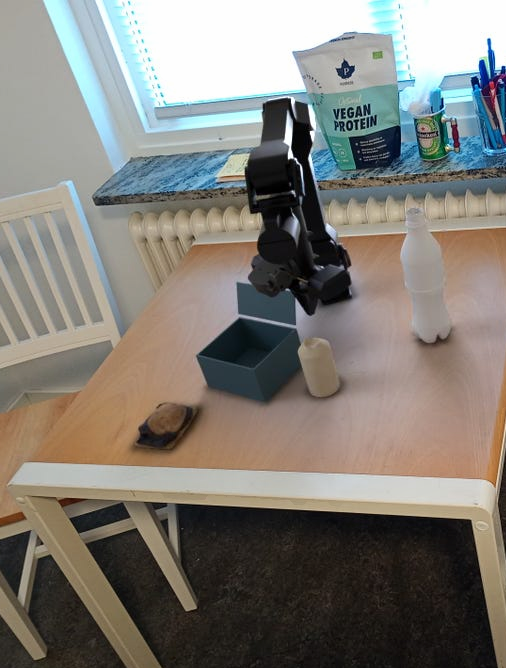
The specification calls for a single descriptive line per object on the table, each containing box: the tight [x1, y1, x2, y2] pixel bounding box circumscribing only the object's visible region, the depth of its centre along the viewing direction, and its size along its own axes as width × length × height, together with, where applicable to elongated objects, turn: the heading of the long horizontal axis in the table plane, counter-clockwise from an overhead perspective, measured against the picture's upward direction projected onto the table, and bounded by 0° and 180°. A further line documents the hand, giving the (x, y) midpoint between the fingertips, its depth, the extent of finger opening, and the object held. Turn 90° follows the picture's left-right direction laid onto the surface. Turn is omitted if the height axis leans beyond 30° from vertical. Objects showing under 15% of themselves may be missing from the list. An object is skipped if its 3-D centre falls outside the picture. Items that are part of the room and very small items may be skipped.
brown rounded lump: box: [134, 402, 199, 451], centre depth 125 cm, size 11×8×4 cm
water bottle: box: [400, 206, 452, 344], centre depth 126 cm, size 7×7×25 cm
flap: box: [235, 281, 297, 326], centre depth 132 cm, size 6×14×1 cm
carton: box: [195, 316, 302, 404], centre depth 132 cm, size 13×14×7 cm
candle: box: [298, 337, 341, 398], centre depth 124 cm, size 6×6×10 cm
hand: (311, 314), depth 123 cm, fingers closed
